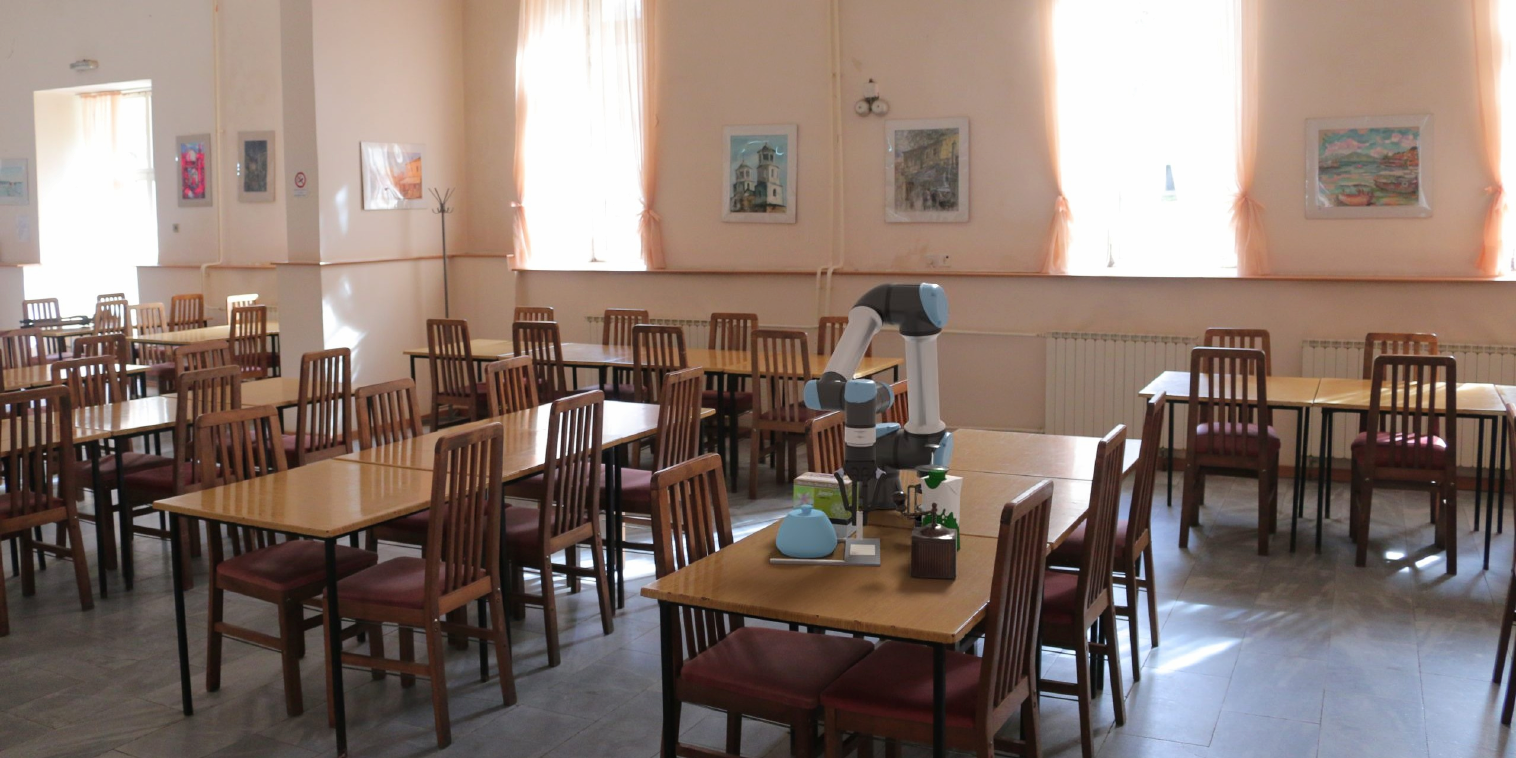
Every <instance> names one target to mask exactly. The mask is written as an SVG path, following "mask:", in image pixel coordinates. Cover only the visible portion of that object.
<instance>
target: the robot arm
mask: <svg viewBox="0 0 1516 758" xmlns="http://www.w3.org/2000/svg"><path fill="white" fill-rule="evenodd" d="M949 310H950V309H949V303H948V298H947V294H946V293H945V290H944V289H943V287H942V286H940V285H939V284H936V283H926V282H885V283H881V284H879V285H875V286H874V287H872V288H870V289H869V290H867V291H866V292H865V293H863V294H862V295H861V296H860V297H859V298H858V299H857V300H856V301H855V303H854V304H853V306H852V307H851V309H850V311H849V313H848V318H847V319H848V323H847V325H846V327H845V328H844V331H843V332H842V335H841V336H840V339H839V341H838V343H837V345H836V346H835V349H834V351H833V353H832V354H831V356H830V359H829V360H828V362H827V365H826V367H825V368H824V370H823V373H822V374H821V376H820V377H819V379H811V380H808V381H807V382H806V383H805V385H804V388H803V389H804V390H803V402H804V405H805V406H806V407H807V409H810V410H817V411H822V412H824V411H827V412H828V411H829V412H844V442H845V443H846V444H844V461H843V463H842V467H841V468H839V469H838V470H835V471H834V472H833V474H834V477H835V478H836V480H837V481H838V484H839V488H840V492H841V496H842V501H843V505H844V509H845V510H846V511H850V512H851V513H852V526H856V531H855V533H856V537H855V538H856V540H862V539H863V538H864V537H863V533H864V532H863V531H864V529H863V527H867V526H868V514H869V513H870V512H875V510H893V509H896V505H895V504H894V502H892V500H891V496H892V494H894V493H895V492H898V491H903V492H905V491H904V487H903V484H902V481H901V476H900V473H901V472H900V471H908V472H917V470H915V467H917V466H920V465H932V453H931V448H927V447H925V445H929V444H936V445H940V446H941V447H940V448H935V449H934V453H933V465H941V466H946V467H948V466H949V465H950V462H951V459H952V455H953V451H954V450H953V449H954V437H953V436H954V435H953V433H951V432H950V431H946V430H947V429H946V428H947V427H946V423H945V421H943V420H941V417H940V412H941V411H940V391H939V370H938V369H939V368H938V367H939V366H938V346H937V345H938V344H937V343H938V341H937V338H938V337H939V336H940V334H941V333H943V332H942V331H943V328H944V327H945V326H946V325H947V324H948V321H949V313H950V312H949ZM885 326H895V327H896V326H898V334H899V335H900V336H901V337H902V338H904V344H905V346H904V348H905V364H906V365H905V366H906V384H907V387H906V388H907V404H908V407H907V409H908V421H907V422H906V423H904V426H903V428H902V426H901V424H900V423H898V422H882V423H877V415H878V414H882V413H885V412H886V411H887V410H889V409H890V408H891V407H892V406H893V404H894V402H895V392H894V390H893V388H892V386H890V385H889V384H888V383H886V382H884V381H874V380H872V379H868V378H867V379H866V378H865V379H863V378H859V379H858V378H857V379H853V378H854V376H855V374H856V372H857V369H858V368H859V366H860V364H861V362H862V360H863V358H864V356H865V354H866V352H867V349H868V347H869V345H870V344H871V342H872V339H873V338H874V335H875V334H876V335H877V333H880V331H881V330H882V327H885ZM844 473H845V474H846V476H848V477H849V479H850V480H851V481H852V506H851V505H849V501H848V497H847V493H846V489H845V485H844V480H843V477H844V475H845V474H844ZM857 482H859V492H858V508H862V510H861V511H859V510H858V511H857Z"/></svg>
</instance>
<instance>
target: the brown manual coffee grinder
mask: <svg viewBox="0 0 1516 758" xmlns="http://www.w3.org/2000/svg"><path fill="white" fill-rule="evenodd" d="M891 500H892V502H894V504H895V505H896V508H895V512H897V513H898V512H900V514H901V516H903V517H906V518H907V517H914V516H922V515H928V514H930V513H932V523H929V524H928V525H926V526H924V527H914V526H913V529H912V530H911V531H912V532H911V535H910V540H911V541H910V542H911V543H910V544H911V546H910V567H909V568H910V570H909V575H910V578H912V579H913V578H914V579H922V580H923V579H924V580H925V579H926V580H951V581H953V580H956V578H957V576H958V575H957V572H958V570H957V569H958V568H957V553H958V552H957V550H958V549H957V530H956V529H949V528H946V527H944V526H942V525H941V524H937V522H936V512H937V511H938V509H937V508H936V507H937V503H935V502H934V503H932V509H931V510H930V511H925V512H920V511H917V512H916V513H914V512H910V513H907V509H908V508H907V504H906V503H907V493H906V492H905V491H904V492H903V491H898V492H895V493H894V494H892V496H891Z"/></svg>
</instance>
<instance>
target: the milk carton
mask: <svg viewBox="0 0 1516 758" xmlns="http://www.w3.org/2000/svg"><path fill="white" fill-rule="evenodd" d="M919 480H920V484H921V489H922V494H921V496H922V497H921V504H922V512H925V511H930V510H931V509H932V503H934V502H935V503H937V507H936V508H937V509H938V511H937V512H936V522H937V524H941V525H942V526H944V527H946V528H949V529H956V530H957V550H959V549H961V536H960V519H961V517H960V516H961V515H960V514H961V513H960V512H961V510H960V509H961V504H960V503H961V491H962V486H963V481H964V477H961V476H955V475H948V474H945V470H941V469H931V470H929V476H926V477H922V478H919ZM929 523H932V513H930V514H928V515H922V527H924V526H926V525H928V524H929Z"/></svg>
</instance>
